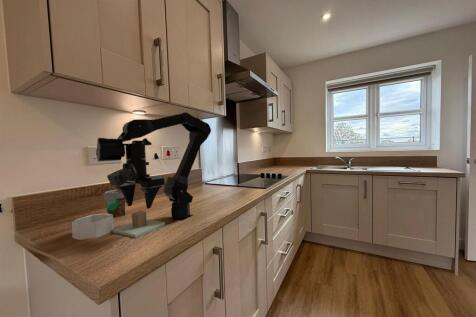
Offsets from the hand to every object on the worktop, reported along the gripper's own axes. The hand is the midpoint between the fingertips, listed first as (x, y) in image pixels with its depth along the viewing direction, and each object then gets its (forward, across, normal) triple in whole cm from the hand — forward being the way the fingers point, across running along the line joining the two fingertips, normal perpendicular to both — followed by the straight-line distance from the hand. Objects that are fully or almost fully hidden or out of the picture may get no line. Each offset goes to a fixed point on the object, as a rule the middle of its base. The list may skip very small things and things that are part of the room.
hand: (139, 207), depth 65 cm
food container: (+8, -24, +6) cm, 26 cm away
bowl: (+7, -11, -8) cm, 16 cm away
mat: (+8, 0, 0) cm, 8 cm away
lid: (+7, 0, 0) cm, 7 cm away
